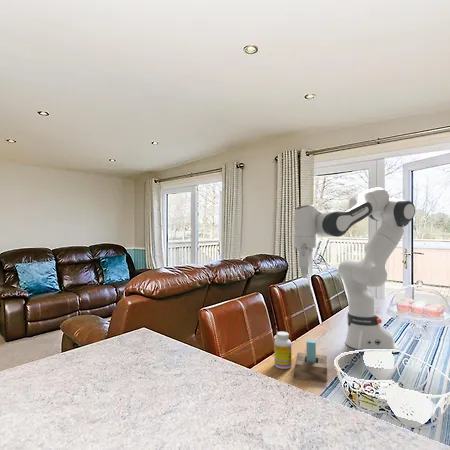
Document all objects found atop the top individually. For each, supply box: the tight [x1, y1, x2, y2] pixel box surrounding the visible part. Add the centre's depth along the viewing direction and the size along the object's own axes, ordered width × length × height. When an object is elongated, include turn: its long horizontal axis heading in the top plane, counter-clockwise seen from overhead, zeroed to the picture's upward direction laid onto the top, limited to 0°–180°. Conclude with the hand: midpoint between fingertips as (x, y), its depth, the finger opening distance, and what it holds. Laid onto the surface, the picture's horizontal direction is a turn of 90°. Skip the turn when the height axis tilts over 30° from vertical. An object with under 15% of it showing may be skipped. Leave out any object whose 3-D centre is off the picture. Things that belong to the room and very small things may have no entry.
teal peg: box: [306, 338, 317, 363], centre depth 118 cm, size 3×3×12 cm
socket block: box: [294, 352, 328, 383], centre depth 118 cm, size 11×11×5 cm
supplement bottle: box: [273, 331, 292, 370], centre depth 124 cm, size 7×7×13 cm
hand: (305, 276), depth 133 cm, fingers open, 8 cm apart
